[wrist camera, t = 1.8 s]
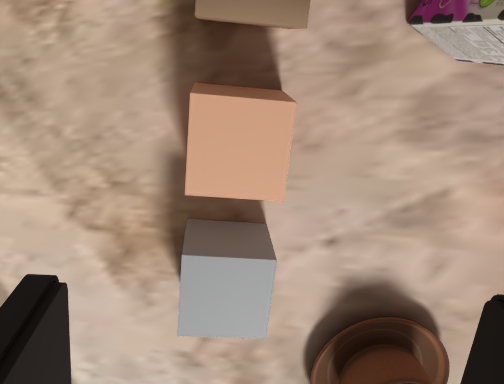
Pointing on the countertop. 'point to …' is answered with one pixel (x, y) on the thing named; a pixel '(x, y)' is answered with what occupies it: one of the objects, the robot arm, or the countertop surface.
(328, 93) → the countertop surface
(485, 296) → the countertop surface
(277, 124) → the terracotta block
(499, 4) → the candy bar box
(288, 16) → the walnut block
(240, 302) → the slate grey block
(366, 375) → the cup and saucer
